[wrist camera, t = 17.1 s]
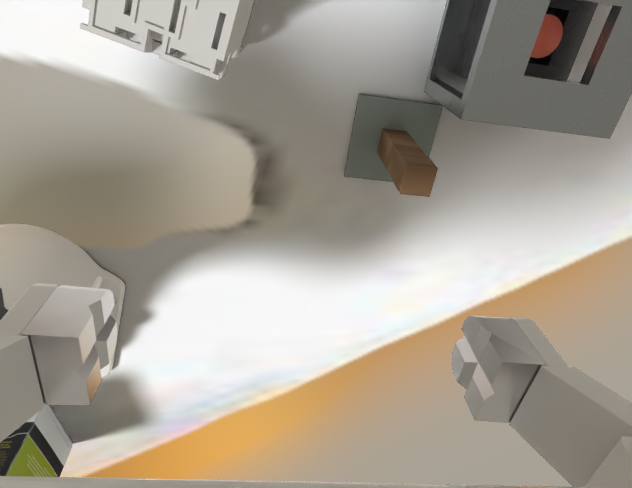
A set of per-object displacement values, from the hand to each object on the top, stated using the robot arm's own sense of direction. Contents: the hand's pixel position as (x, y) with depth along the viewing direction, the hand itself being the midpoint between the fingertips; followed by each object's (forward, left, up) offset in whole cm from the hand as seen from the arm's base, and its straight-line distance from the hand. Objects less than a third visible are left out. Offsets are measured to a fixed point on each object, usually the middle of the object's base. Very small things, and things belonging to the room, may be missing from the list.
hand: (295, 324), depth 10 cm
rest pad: (-5, -11, -34) cm, 36 cm away
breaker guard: (+6, -19, -34) cm, 39 cm away
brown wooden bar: (-5, -11, -33) cm, 35 cm away
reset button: (+6, -19, -32) cm, 38 cm away
